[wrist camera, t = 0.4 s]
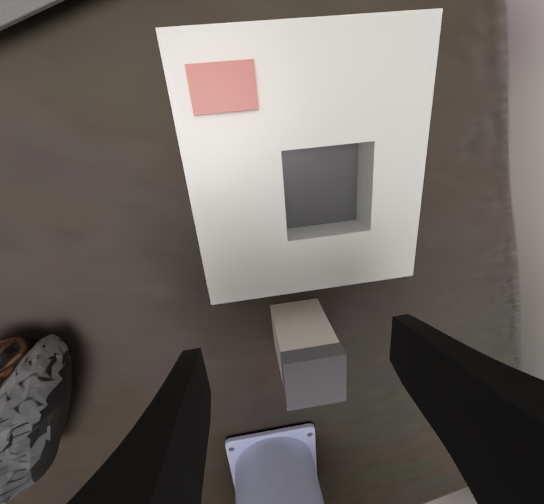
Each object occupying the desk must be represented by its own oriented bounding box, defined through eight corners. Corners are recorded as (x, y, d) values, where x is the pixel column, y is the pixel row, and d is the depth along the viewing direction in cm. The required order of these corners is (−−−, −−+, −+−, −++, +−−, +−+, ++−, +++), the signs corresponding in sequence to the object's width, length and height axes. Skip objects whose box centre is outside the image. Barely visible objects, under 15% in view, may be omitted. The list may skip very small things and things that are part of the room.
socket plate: (394, 260, 22) (418, 279, 19) (213, 285, 21) (210, 310, 18) (413, 24, 16) (451, 3, 13) (166, 41, 15) (152, 23, 12)
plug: (318, 336, 24) (346, 400, 18) (273, 343, 23) (287, 411, 18) (317, 297, 22) (346, 354, 17) (269, 304, 22) (282, 364, 16)
